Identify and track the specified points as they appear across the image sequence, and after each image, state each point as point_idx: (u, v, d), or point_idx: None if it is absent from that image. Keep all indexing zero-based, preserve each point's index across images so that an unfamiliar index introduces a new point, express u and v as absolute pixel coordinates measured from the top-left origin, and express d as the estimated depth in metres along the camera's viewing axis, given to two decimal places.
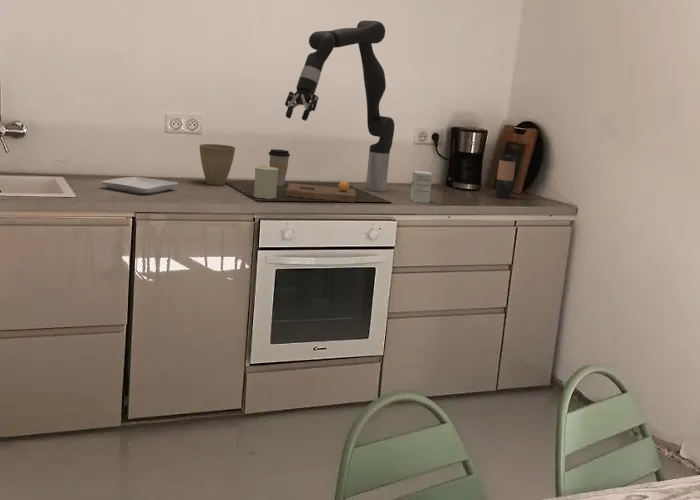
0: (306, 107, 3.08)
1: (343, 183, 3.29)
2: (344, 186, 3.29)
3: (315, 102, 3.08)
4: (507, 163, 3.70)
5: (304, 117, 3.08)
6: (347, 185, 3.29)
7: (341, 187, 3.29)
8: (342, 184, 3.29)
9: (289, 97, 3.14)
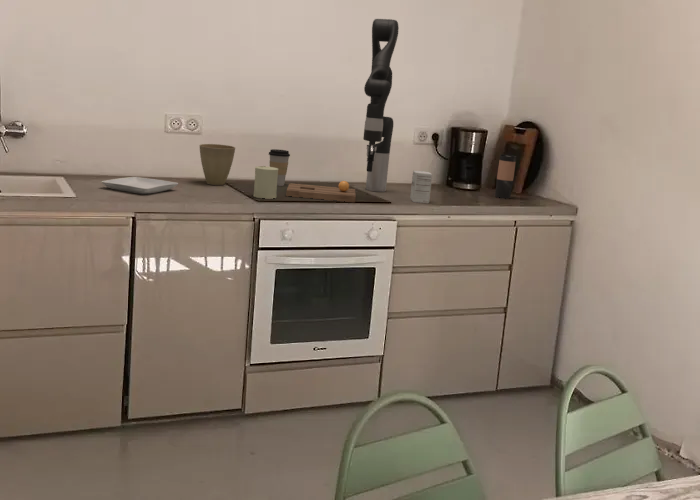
0: (367, 160, 3.28)
1: (343, 183, 3.29)
2: (344, 186, 3.29)
3: (371, 156, 3.24)
4: (507, 163, 3.70)
5: (367, 169, 3.28)
6: (347, 185, 3.29)
7: (341, 187, 3.29)
8: (342, 184, 3.29)
9: None
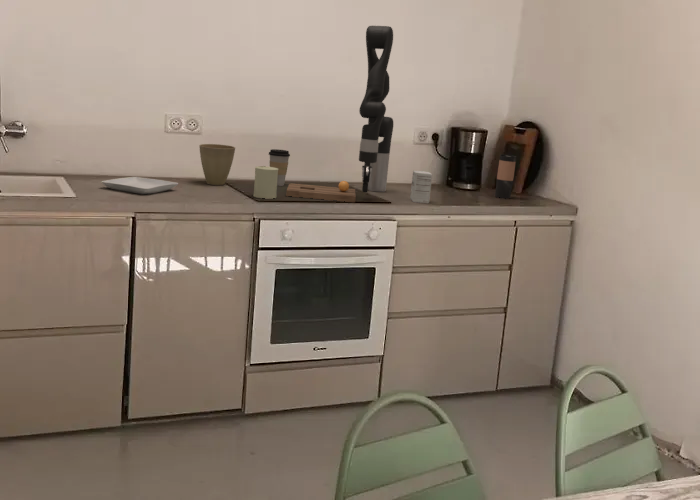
0: (362, 180, 3.30)
1: (343, 183, 3.29)
2: (344, 186, 3.29)
3: (367, 177, 3.25)
4: (507, 163, 3.70)
5: (363, 190, 3.30)
6: (347, 185, 3.29)
7: (341, 187, 3.29)
8: (342, 184, 3.29)
9: None
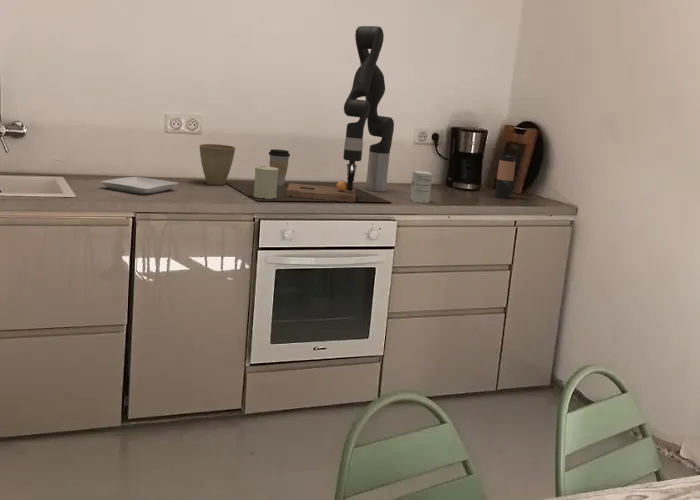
0: (347, 179, 3.29)
1: (340, 183, 3.29)
2: (342, 186, 3.29)
3: (351, 176, 3.25)
4: (507, 163, 3.70)
5: (348, 188, 3.30)
6: (344, 184, 3.29)
7: (339, 187, 3.29)
8: (339, 184, 3.29)
9: (348, 170, 3.33)
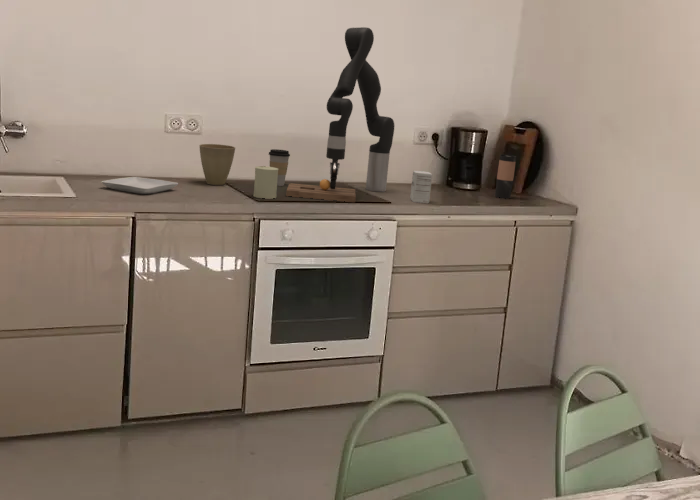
0: (330, 177, 3.29)
1: (324, 188, 3.29)
2: (324, 185, 3.29)
3: (334, 174, 3.25)
4: (507, 163, 3.70)
5: (331, 187, 3.30)
6: (321, 185, 3.29)
7: (327, 185, 3.29)
8: (325, 187, 3.29)
9: None
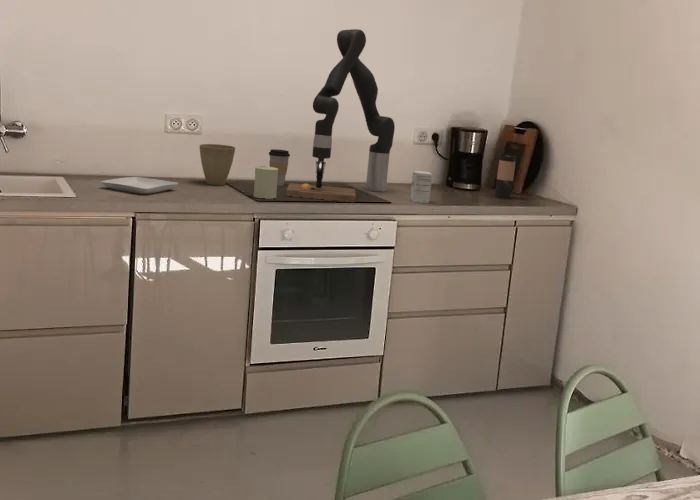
0: (316, 176, 3.29)
1: (305, 186, 3.29)
2: None
3: (320, 173, 3.25)
4: (507, 163, 3.70)
5: (317, 186, 3.30)
6: (309, 188, 3.29)
7: None
8: (304, 187, 3.29)
9: None
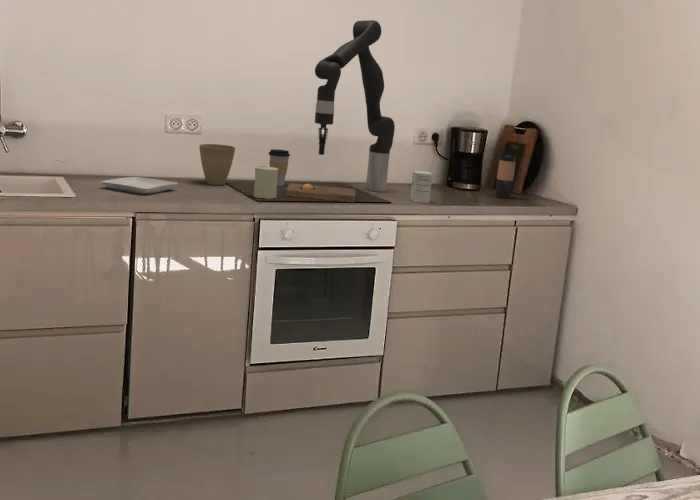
0: (319, 143, 3.26)
1: (308, 186, 3.29)
2: None
3: (323, 139, 3.22)
4: (507, 163, 3.70)
5: (319, 152, 3.27)
6: (311, 189, 3.30)
7: None
8: (306, 186, 3.29)
9: None
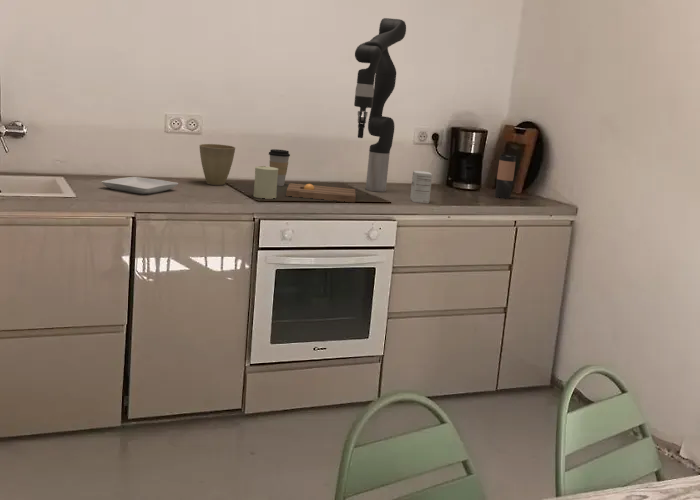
0: (358, 126, 3.29)
1: (310, 186, 3.29)
2: (309, 189, 3.29)
3: (362, 122, 3.25)
4: (507, 163, 3.70)
5: (358, 135, 3.29)
6: None
7: (306, 188, 3.29)
8: (309, 187, 3.29)
9: None
